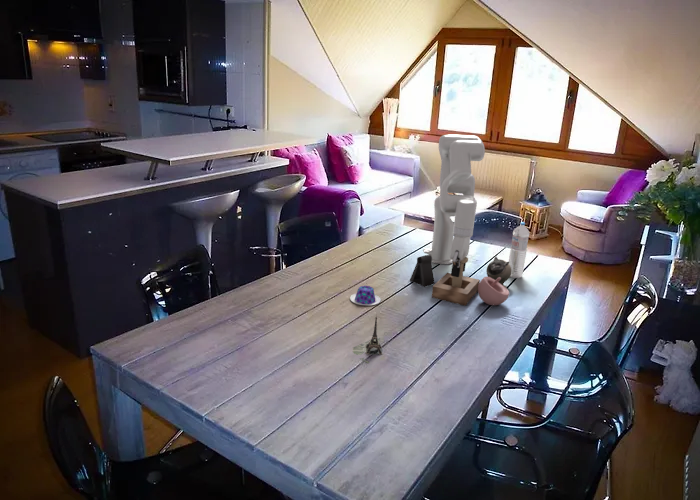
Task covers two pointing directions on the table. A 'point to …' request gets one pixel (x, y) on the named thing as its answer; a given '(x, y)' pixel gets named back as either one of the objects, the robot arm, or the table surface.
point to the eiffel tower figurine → (369, 345)
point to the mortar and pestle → (492, 291)
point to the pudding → (365, 296)
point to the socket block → (455, 290)
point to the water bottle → (518, 250)
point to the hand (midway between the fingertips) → (457, 273)
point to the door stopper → (423, 271)
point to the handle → (458, 280)
